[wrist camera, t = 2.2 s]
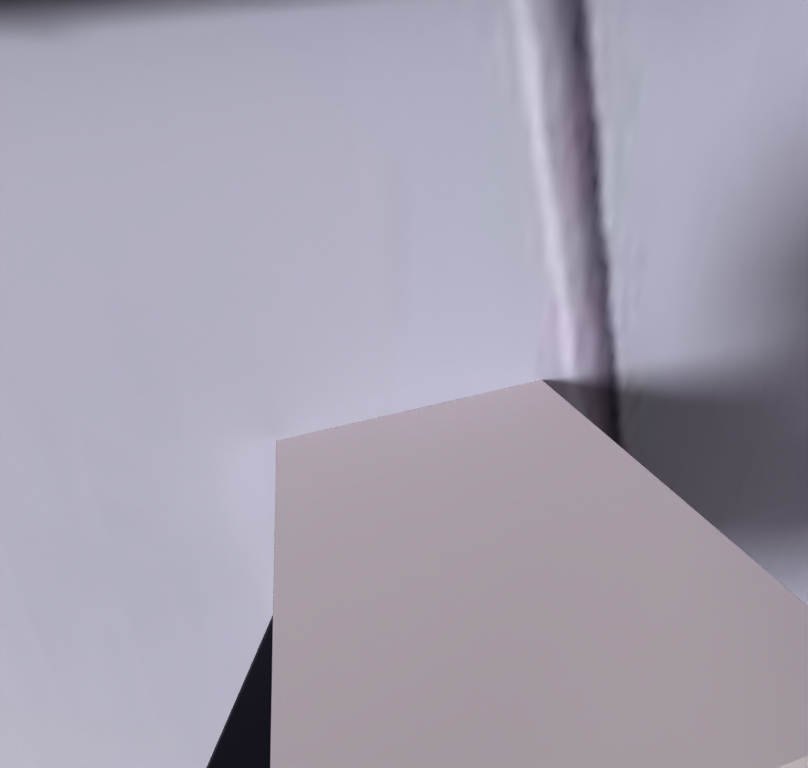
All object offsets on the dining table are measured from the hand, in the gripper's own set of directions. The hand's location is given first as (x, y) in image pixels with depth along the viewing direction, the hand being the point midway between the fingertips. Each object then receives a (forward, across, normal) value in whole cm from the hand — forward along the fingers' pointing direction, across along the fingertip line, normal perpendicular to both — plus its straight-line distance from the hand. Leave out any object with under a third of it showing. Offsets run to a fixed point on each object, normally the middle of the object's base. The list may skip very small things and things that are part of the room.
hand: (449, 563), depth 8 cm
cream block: (+1, 0, 0) cm, 1 cm away
